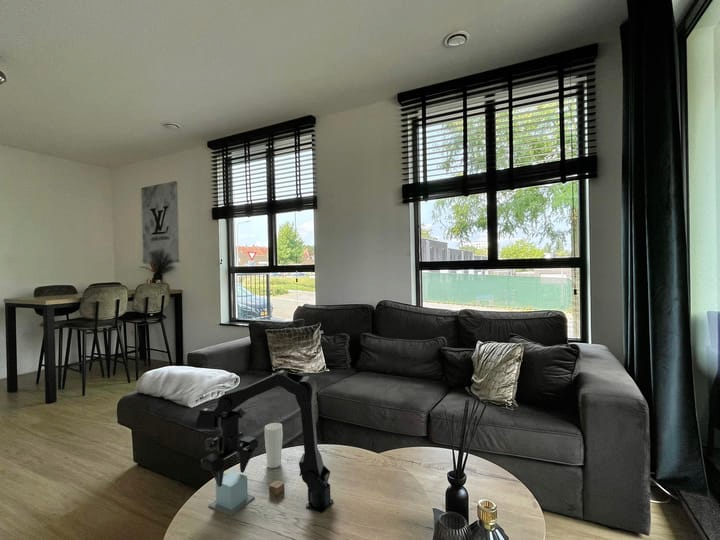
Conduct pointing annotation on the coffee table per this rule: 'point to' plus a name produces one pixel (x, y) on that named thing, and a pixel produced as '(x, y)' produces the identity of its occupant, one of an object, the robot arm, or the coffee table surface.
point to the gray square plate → (235, 509)
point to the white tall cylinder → (273, 444)
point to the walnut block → (276, 489)
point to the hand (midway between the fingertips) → (231, 479)
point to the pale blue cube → (232, 490)
